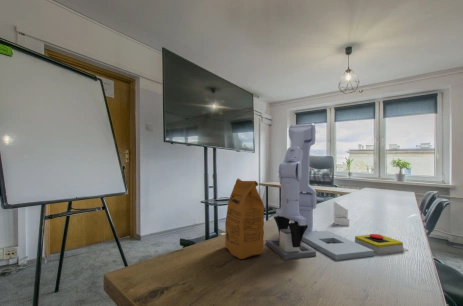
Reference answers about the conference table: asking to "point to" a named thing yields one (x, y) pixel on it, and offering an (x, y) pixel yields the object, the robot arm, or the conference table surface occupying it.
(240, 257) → the coffee package
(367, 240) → the emergency button
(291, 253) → the grey square frame
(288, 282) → the conference table surface
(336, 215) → the white angled block
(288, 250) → the grey block
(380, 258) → the conference table surface
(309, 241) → the port plate
